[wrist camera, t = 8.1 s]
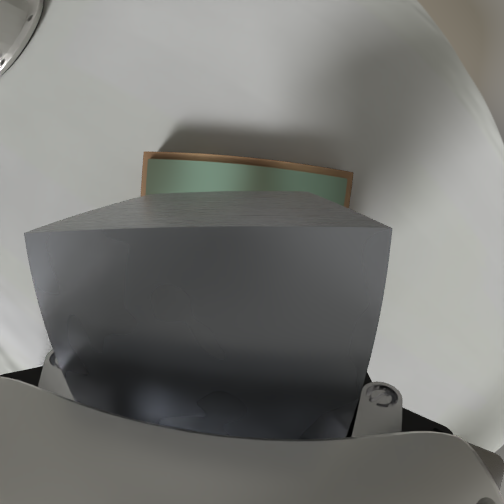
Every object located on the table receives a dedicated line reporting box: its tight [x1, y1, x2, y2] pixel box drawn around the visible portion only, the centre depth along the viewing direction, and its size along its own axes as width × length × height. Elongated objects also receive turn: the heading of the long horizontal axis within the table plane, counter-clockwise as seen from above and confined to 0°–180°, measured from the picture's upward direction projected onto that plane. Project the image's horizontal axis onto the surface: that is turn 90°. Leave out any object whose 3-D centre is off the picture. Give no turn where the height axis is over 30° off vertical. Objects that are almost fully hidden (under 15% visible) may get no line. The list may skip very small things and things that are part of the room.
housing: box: [24, 191, 392, 439], centre depth 9 cm, size 11×6×7 cm, turn 0°
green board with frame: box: [141, 152, 353, 208], centre depth 21 cm, size 14×14×3 cm
